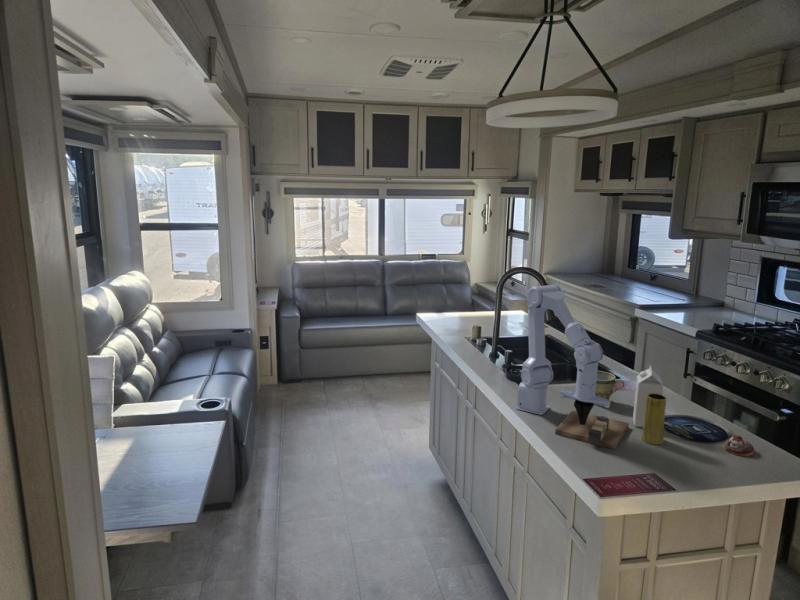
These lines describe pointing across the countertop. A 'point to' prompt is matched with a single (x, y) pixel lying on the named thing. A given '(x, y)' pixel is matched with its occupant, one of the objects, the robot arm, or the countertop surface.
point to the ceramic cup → (605, 384)
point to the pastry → (739, 447)
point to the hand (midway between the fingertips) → (582, 423)
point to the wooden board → (581, 432)
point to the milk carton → (645, 393)
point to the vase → (654, 419)
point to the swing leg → (598, 429)
